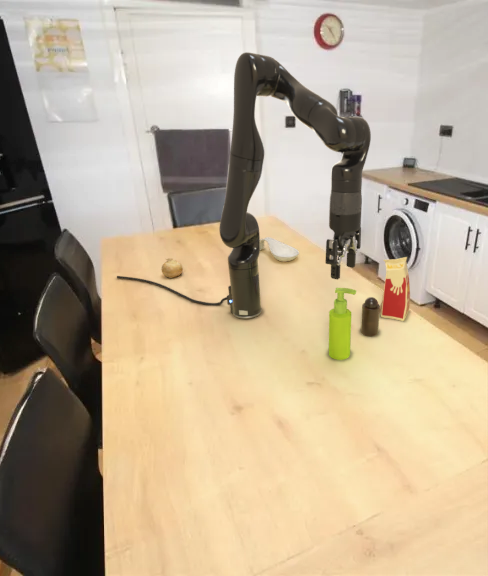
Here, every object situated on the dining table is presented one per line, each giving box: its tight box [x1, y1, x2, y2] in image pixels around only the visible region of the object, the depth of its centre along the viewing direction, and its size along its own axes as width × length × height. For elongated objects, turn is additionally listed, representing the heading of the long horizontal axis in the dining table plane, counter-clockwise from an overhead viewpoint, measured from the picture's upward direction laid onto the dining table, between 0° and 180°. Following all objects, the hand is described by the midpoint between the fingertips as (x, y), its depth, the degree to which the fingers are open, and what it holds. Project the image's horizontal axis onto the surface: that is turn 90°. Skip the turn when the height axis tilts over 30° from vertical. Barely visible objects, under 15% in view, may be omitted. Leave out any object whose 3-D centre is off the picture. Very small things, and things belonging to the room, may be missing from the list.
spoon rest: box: [260, 236, 300, 263], centre depth 181 cm, size 24×12×7 cm, turn 48°
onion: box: [160, 258, 183, 279], centre depth 161 cm, size 8×8×7 cm
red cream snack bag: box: [379, 256, 411, 322], centre depth 131 cm, size 9×9×20 cm
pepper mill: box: [360, 296, 381, 337], centre depth 122 cm, size 5×5×12 cm
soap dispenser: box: [328, 287, 357, 361], centre depth 109 cm, size 6×7×20 cm
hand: (343, 272), depth 103 cm, fingers open, 8 cm apart
